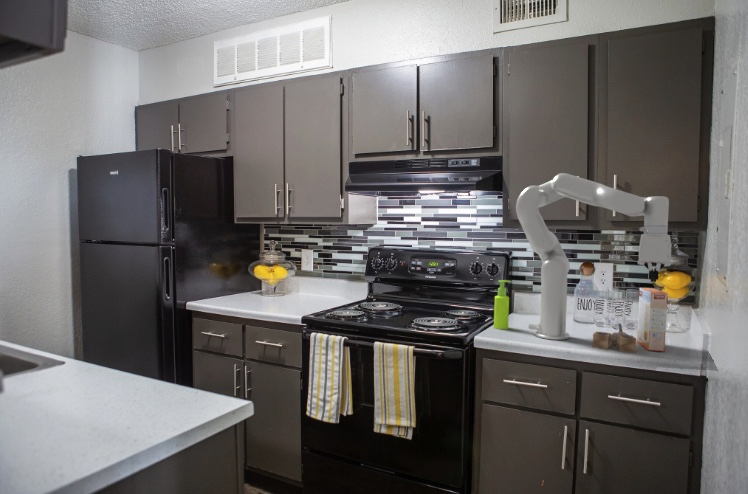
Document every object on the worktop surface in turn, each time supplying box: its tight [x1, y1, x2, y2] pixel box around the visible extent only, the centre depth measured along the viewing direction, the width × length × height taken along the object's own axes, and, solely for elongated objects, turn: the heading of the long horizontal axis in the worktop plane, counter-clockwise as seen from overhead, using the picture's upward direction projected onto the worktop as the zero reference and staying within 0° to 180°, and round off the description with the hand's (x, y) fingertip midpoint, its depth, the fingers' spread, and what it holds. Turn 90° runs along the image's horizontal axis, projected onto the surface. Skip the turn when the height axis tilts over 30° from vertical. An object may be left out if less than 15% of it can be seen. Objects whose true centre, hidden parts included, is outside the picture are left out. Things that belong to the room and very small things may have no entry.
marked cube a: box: [616, 334, 637, 354], centre depth 189 cm, size 5×5×5 cm
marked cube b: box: [592, 331, 612, 350], centre depth 193 cm, size 5×5×5 cm
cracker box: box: [636, 287, 669, 352], centre depth 194 cm, size 14×6×21 cm, turn 168°
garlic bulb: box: [611, 322, 629, 346], centre depth 198 cm, size 8×7×8 cm
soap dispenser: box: [493, 279, 513, 330], centre depth 224 cm, size 6×7×20 cm
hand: (653, 281), depth 193 cm, fingers closed
